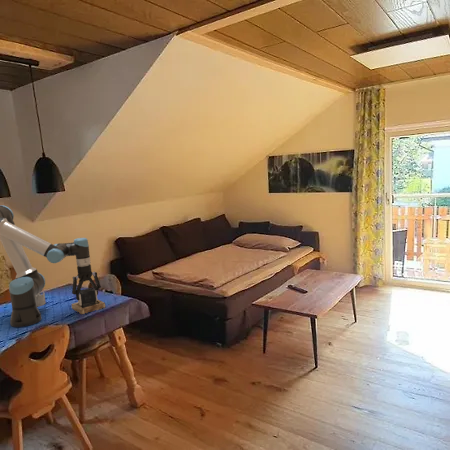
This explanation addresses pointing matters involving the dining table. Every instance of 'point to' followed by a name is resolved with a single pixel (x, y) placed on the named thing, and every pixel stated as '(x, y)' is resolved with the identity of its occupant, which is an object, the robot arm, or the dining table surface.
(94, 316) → the dining table surface
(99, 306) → the socket tray
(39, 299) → the engine component
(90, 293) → the box
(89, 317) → the dining table surface
